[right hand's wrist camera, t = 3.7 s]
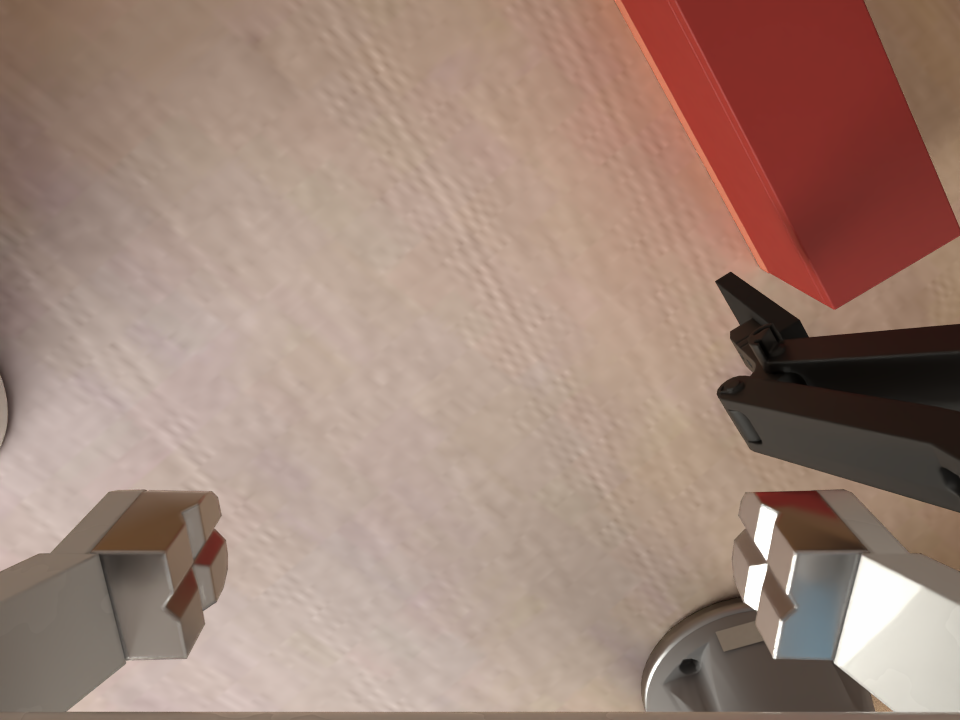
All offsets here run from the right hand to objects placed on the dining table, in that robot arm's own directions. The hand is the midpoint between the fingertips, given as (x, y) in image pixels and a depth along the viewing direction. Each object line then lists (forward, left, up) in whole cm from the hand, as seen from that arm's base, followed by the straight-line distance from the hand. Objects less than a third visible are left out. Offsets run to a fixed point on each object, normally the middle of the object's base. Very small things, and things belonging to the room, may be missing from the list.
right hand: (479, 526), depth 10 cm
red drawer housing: (+8, +13, -28) cm, 32 cm away
